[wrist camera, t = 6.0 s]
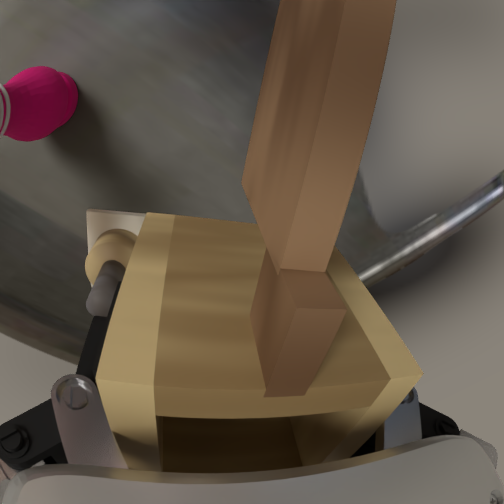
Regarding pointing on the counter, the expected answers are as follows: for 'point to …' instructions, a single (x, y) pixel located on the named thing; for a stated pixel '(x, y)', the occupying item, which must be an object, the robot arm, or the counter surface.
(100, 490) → the robot arm
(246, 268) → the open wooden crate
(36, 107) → the pepper mill
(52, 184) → the counter surface
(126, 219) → the hinge base
